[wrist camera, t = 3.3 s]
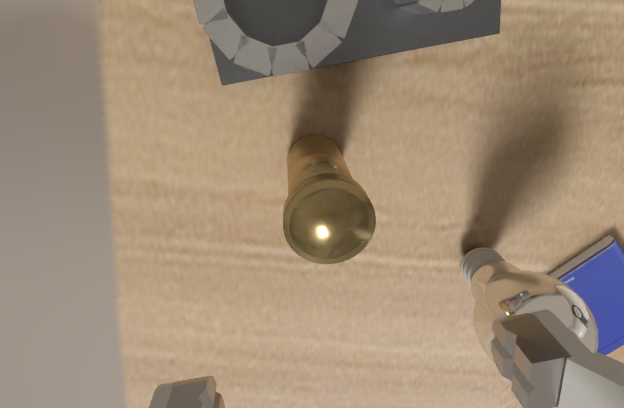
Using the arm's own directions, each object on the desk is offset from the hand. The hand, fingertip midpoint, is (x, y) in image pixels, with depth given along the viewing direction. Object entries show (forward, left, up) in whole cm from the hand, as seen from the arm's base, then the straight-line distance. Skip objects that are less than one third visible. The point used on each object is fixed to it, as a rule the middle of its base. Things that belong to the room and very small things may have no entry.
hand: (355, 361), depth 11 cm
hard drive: (-24, +19, -19) cm, 36 cm away
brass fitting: (0, 0, -19) cm, 19 cm away
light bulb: (-12, +11, -19) cm, 25 cm away
